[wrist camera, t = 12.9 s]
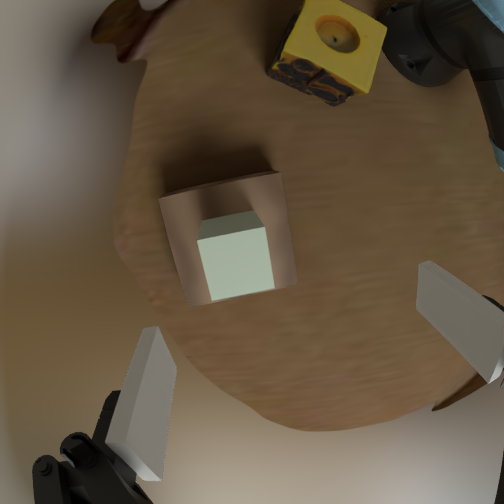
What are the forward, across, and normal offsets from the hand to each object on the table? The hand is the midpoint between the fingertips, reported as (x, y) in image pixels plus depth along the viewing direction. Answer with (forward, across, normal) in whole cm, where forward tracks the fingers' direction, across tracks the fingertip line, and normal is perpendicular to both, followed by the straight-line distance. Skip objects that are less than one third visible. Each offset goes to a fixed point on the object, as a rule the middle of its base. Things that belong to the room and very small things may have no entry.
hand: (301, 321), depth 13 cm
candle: (+27, -12, -18) cm, 34 cm away
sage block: (+21, +3, +2) cm, 22 cm away
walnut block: (+26, +3, +3) cm, 27 cm away
